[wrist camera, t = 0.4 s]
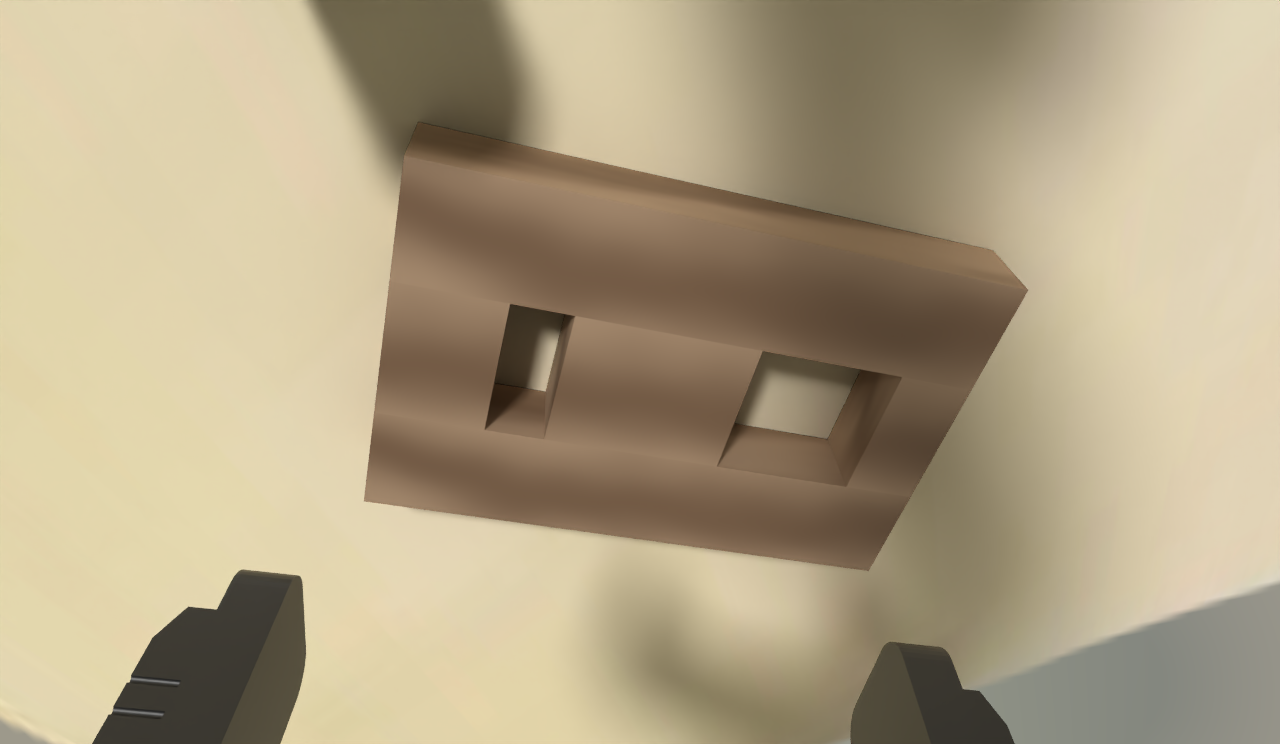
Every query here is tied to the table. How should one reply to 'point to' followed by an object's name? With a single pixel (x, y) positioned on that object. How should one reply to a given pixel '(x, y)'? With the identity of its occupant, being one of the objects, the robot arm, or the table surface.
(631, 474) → the plate
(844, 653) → the table surface
